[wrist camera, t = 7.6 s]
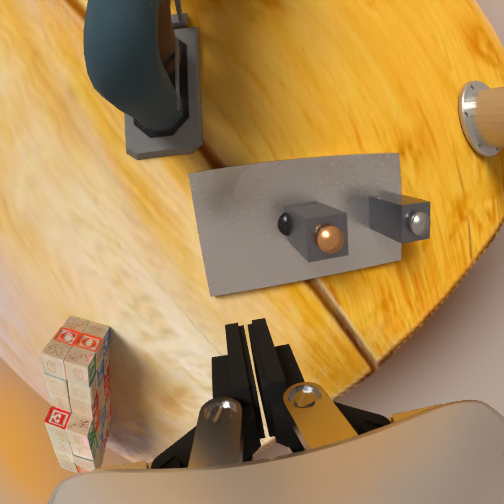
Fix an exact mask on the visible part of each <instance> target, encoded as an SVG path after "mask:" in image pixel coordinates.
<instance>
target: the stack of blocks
mask: <svg viewBox="0 0 504 504" xmlns="http://www.w3.org/2000/svg"><path fill="white" fill-rule="evenodd" d="M109 344H110V327H109V326H105V325H101V324H98V323H94V322H90V321H88V320H84V319H81V318H77V317H73V316H70V317H69V318H68V319H67V320H66V322H65V323H64V325H63V326H62V327H61V328H60V329H59V331H58V332H57V333H56V335H55V336H54V337H53V339H51V340H50V341H49V343H48V344H47V345H46V347H45V348H44V350H43V351H42V353H41V356H42V362H43V367H44V371H45V373H44V375H45V380H46V384H47V389H48V394H49V398H50V402H51V404H52V406H51V408H50V410H49V412H48V414H47V417H46V419H45V421H44V422H45V426H46V429H47V431H48V434H49V435H50V439H51V442H52V445H53V448H54V451H55V453H56V456H57V459H58V461H59V464H60V466H61V467H62V468H65V469H67V470H70V471H73V472H76V473H83V472H88V471H93V470H94V469H96V468H100V467H101V464H102V461H103V456H104V452H105V446H106V442H107V437H108V436H109V431H110V427H111V404H110V390H109V359H110V345H109Z"/></svg>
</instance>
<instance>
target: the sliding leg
mask: <svg viewBox="0 0 504 504" xmlns="http://www.w3.org/2000/svg"><path fill="white" fill-rule="evenodd" d="M285 209H286V218H287V228H288V238H289V243H290V244H291V245H292V246H293V247H294V248H295V249H296V250H297V251H298V252H299V253H300V254H301V255H302V256H303V257H304V259H305V260H306V261H307V262H308V263H309V262H315V261H320V260H326V259H331V258H336V257H342V256H347V255H349V253H348V226H347V213H346V212H343V211H341V210H338V209H336V208H333V207H331V206H328V205H326V204H323V203H321V202H318V203H310V204H302V205H295V206H288V207H285Z"/></svg>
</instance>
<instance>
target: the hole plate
mask: <svg viewBox="0 0 504 504" xmlns="http://www.w3.org/2000/svg"><path fill="white" fill-rule="evenodd" d="M189 179H190V186H191V192H192V198H193V204H194V210H195V216H196V222H197V228H198V233H199V239H200V244H201V250H202V255H203V260H204V266H205V271H206V276H207V281H208V286H209V291H210V296H211V297H212V296H218V295H224V294H230V293H236V292H241V291H247V290H253V289H259V288H264V287H270V286H275V285H281V284H286V283H291V282H297V281H302V280H307V279H312V278H317V277H323V276H328V275H333V274H337V273H342V272H347V271H352V270H357V269H362V268H366V267H371V266H376V265H380V264H385V263H389V262H394V261H398V260H401V245H402V244H401V243H399V242H397V241H395V240H393V239H391V238H389V237H386V236H384V235H382V234H380V233H378V232H376V231H374V230H372V229H370V225H369V200H368V196H372V195H382V194H391V193H397V194H401V178H400V162H399V153H373V154H352V155H336V156H323V157H310V158H299V159H289V160H280V161H271V162H263V163H255V164H247V165H240V166H233V167H226V168H219V169H213V170H206V171H200V172H194V173H189ZM318 202H321V203H323V204H326V205H328V206H331V207H333V208H336V209H338V210H341V211H343V212H346V213H347V226H348V253H349V255H347V256H342V257H336V258H331V259H326V260H320V261H315V262H309V263H308V262H307V261H306V260H305V259H304V257H303V256H302V255H301V254H300V253H299V252H298V251H297V250H296V249H295V248H294V247H293V246H292V245H291V244H290V243H289V238H288V228H287V218H286V209H285V207H288V206H295V205H302V204H310V203H318Z"/></svg>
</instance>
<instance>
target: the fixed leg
mask: <svg viewBox="0 0 504 504" xmlns="http://www.w3.org/2000/svg"><path fill="white" fill-rule="evenodd" d="M368 200H369V225H370V229H372V230H374V231H376V232H378V233H380V234H382V235H384V236H386V237H389V238H391V239H393V240H395V241H397V242H399V243H401V244H403V243H408V242H413V241H418V240H423V239H428V238H430V202H429V201H425V200H422V199H418V198H413V197H409V196H405V195H401V194H397V193H391V194H382V195H372V196H368Z"/></svg>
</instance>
